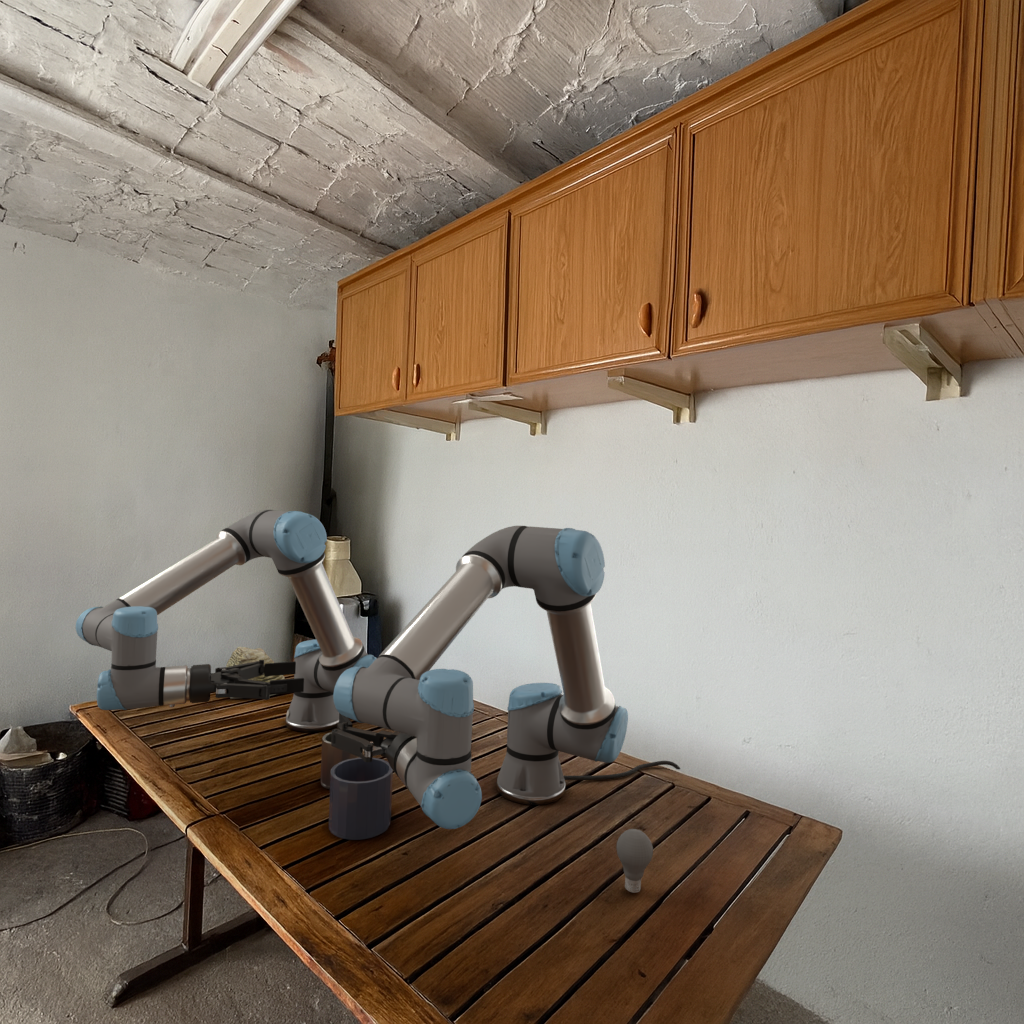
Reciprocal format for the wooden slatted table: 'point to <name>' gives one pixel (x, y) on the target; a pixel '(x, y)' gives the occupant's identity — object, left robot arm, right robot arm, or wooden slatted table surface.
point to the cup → (331, 759)
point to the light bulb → (634, 857)
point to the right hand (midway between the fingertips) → (379, 715)
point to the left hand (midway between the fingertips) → (299, 675)
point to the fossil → (252, 655)
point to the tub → (360, 798)
